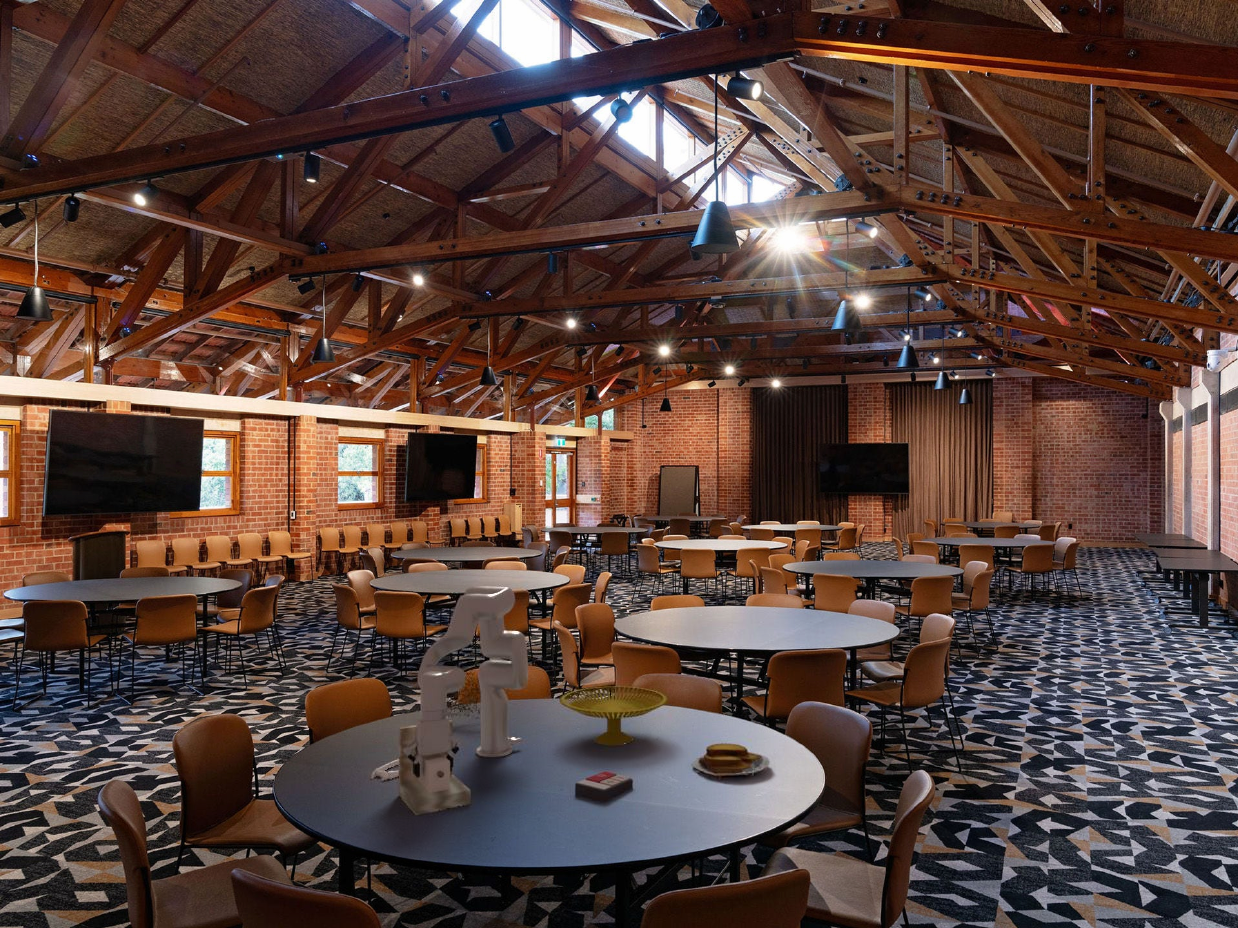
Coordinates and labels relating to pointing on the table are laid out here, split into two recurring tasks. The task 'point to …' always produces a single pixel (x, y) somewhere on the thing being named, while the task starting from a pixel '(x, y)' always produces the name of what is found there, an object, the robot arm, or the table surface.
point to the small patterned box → (603, 786)
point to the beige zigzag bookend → (415, 792)
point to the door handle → (387, 775)
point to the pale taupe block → (434, 773)
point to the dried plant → (466, 697)
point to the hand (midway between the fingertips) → (433, 773)
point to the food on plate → (730, 760)
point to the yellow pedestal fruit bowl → (613, 709)
